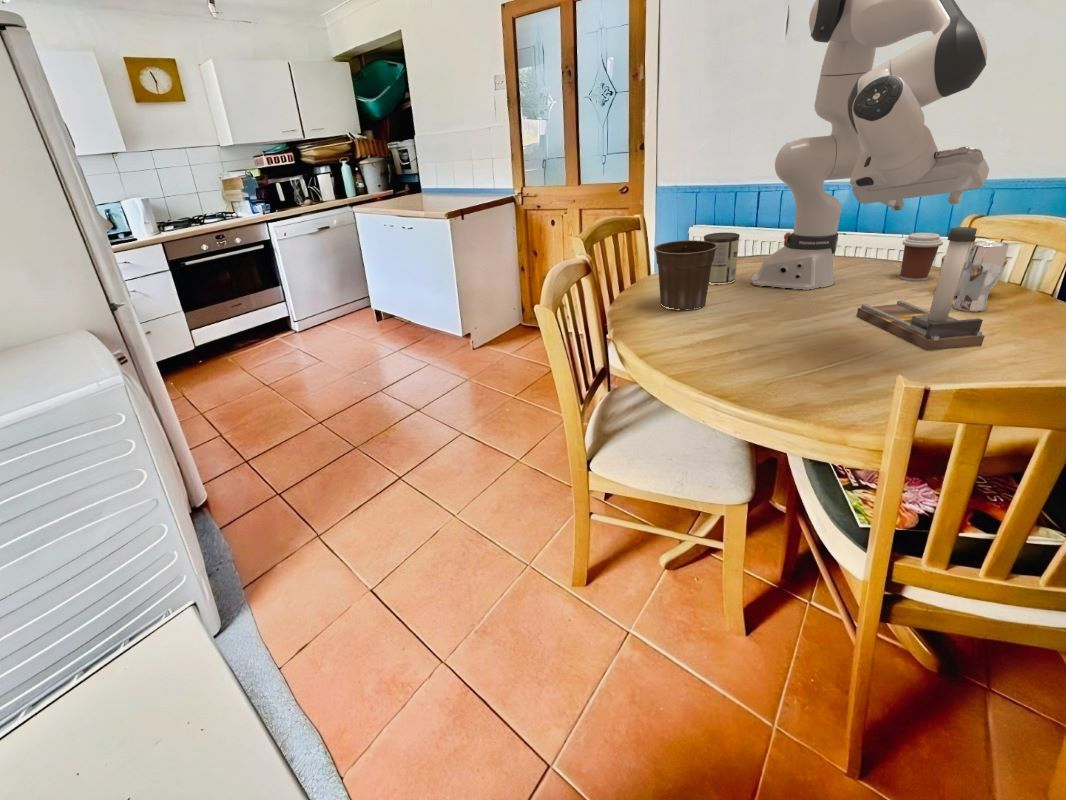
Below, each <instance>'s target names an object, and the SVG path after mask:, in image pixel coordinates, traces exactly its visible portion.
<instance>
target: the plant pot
mask: <svg viewBox="0 0 1066 800" xmlns="http://www.w3.org/2000/svg"><path fill="white" fill-rule="evenodd" d="M717 247H718V245H717V244H716V243H713V242H708V241H704V240H696V239H695V240H694V239H693V240H692V239H691V240H676V241H675V240H674V241H667V242H664V243H660V244H657V245H656V246H654V248H653V251H654V252H655V256H656V257H655V258H656V264H657V269H658V270H657V271H658V282H659V297H660V298H659V301H660V305H661V304H662V305H663V306H665V307H669V308H674V309H681V310H685V309H694V308H699V307H701V308H703V307H705V306H706V303H707V297H708V290H709V278H710V271H711V265H712V262H713V261H714V255H715V250H716V249H717ZM702 306H703V307H702ZM699 309H700V308H699Z"/></svg>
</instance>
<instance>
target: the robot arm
mask: <svg viewBox="0 0 1066 800" xmlns="http://www.w3.org/2000/svg"><path fill="white" fill-rule="evenodd" d="M808 25H809V26H808V27H809V31H810V37H811V38H812V40H813V41H815V42H816V43H817V42H819V43H826V44H827V43H828V45H827V48H826V52H825V54H824V58H823V61H822V65H821V70H820V71H821V72H820V75H819V80H818V84H817V90H816V95H815V96H816V97H815V101H814V111H815V113H816V115H817V116H818V117H820V118H821V119H822V120H824V121H826V122H829V123H831V134H830V135H823V136H812V137H811V136H810V137H803V138H799V139H796V140H795V139H794V140H792V141H789V142H786V143H785V144H783V146H782V147H780V149H779V151H778V152H777V154H776V157H775V160H774V161H775V162H774V169H775V174H776V176H777V177H778V179H780V181H782V182H783V183H784V184H785V185H787V187H788V188H789V189H790V191H791V194H792V195H793V198H794V201H795V203H794V204H795V217H794V224H793V225H794V226H793V232H789V231H788V232H785V234H784V235H783V239H784V242H783V247H781V248H779V249H778V250H776V251H775V252H774V253H772V254H770V255H769V256H767V257H766V258H765V259H764V260H763V262H762V263H761V266H760V269H759V272H757V273H755V274H753V275H752V276H751V278H750V283H751V282H752V283H753V284H755V285H763V286H773V287H772V288H774V287H783V288H782V289H785V288H793V289H792V290H797V289H803V290H802V291H810V290H809V289H811V290H814V289H819V287H821V288H826V287H830V286H832V285H834V284H835V277H834V258H835V257H834V255H835V253H836V250H837V246H838V243H839V233H838V229H839V225H840V218H841V211H842V205H841V202H840V200H839V199H838V198H837V197H835V196H834V195H832V194H830V193H827V192H826V191H825V188H824V185H825V184H824V183H825V181H834V180H845V179H850V180H849V183H850V186H852V189H851V190H852V193H853V195H854V197H855V200H856V201H857V202H858V203H860V204H865V205H867V204H874V203H881V204H882V205H884V206H887V207H889V208H890V209H891V210H892V211H893V212H895V211H902V210H903V207H904V205H905V201H903V200H904V199H906V200H907V199H912V198H913V199H914V198H920V197H927V196H935V195H943V194H944V195H945V194H949V196H948V198H947V201H948V203H949V204H948V205H957V204H960V203H961V201H962V198H963V192H967V191H973V190H979V189H980V188H982V187H983V186H984V185H985V183H986V182H987V179H988V175H989V171H990V168H989V165H988V163H987V161H986V159H985V158H984V155H983V152H982V151H983V150H981V149H980V148H973V147H969V146H962V147H959V148H955V149H947V150H945V149H944V150H941V151H940V150H938V147H937V144H936V141H935V139H934V137H933V134H932V132H931V130H930V128H929V126H928V125H925V119H926V118H925V114H924V111H923V109H922V108H924V107H925V106H928V105H930V104H933V103H934V102H937V101H939V100H941V99H942V98H947V97H950V96H951V95H954V94H957V93H960V92H962V91H964V90H967V89H969V88H971V86H973V84H974V83H975V82H976V81H977V79H978V78H979V77H980V75H981V74H982V72H983V71H984V69H985V67H986V66H987V59H988V48H987V44H986V41H985V39H984V36H983V34H982V33H981V32H980V30H979V29H978V28H977V27H975V26H974V24H973V23H972V22H971V21H970V20H968V19H967V17H966V16H965V14H964V13H963V11H962V10H961V8H960V6H959V5H958V3H957V2H956V1H955V0H815V2H814V3H813V5H812V8H811V9H810V14H809V20H808ZM925 32H931V33H932V36H930V37H929V38H928V39H926V40H924V41H922V42H920V43H918V44H917V45H915V46H912V47H911V48H910V49H907V50H905V51H904V52H903V53H900V54H899V55H896V56H895V57H893V58H891V59H889V60H887V61H885V62H883V63H881V64H880V65H878V66H876V67H874V68H873V66H874V62H875V57H876V56H875V55H876V51H877V50H876V49H877V48H883V47H888V46H891V45H893V44H895V43H898V42H900V41H902V40H905V39H907V38H910V37H913V36H915V35H919V34H921V33H925ZM753 284H752V285H753Z"/></svg>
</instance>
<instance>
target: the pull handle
mask: <svg viewBox="0 0 1066 800" xmlns="http://www.w3.org/2000/svg"><path fill="white" fill-rule="evenodd" d="M977 231H978V228H976V227H969V226H968V227H967V226H957V227H951V228H950V230H949V233H948V236H947V239H946V240H948V241H949V243H948V246H947V249H946V253H945V259H944V263H943V266H942V270H941V273H940V277H939V276H938V281H937V283H936V288H935V292H934V295H933V299H932V302H931V306H930V309H929V311H930V312H929V315H918V316H913V317H912V320H911V324H913V325H915V326H917V327H919V328H922V329H924V330H926V331H927V328H928V325H929V323H936V322H946V321H957V320H958V319H957V318H954V317H951V316H949V314H950V311H951V309H952V306H953V302H954V298H955V296H954V295H955V292H956V289H957V285H958V282H959V279H960V275H961V272H962V269H963V265H964V262H965V259H966V255H967V252H968V250H969V247H970V245H971V243H972V242H974V241H975V239H976V234H977Z"/></svg>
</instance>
